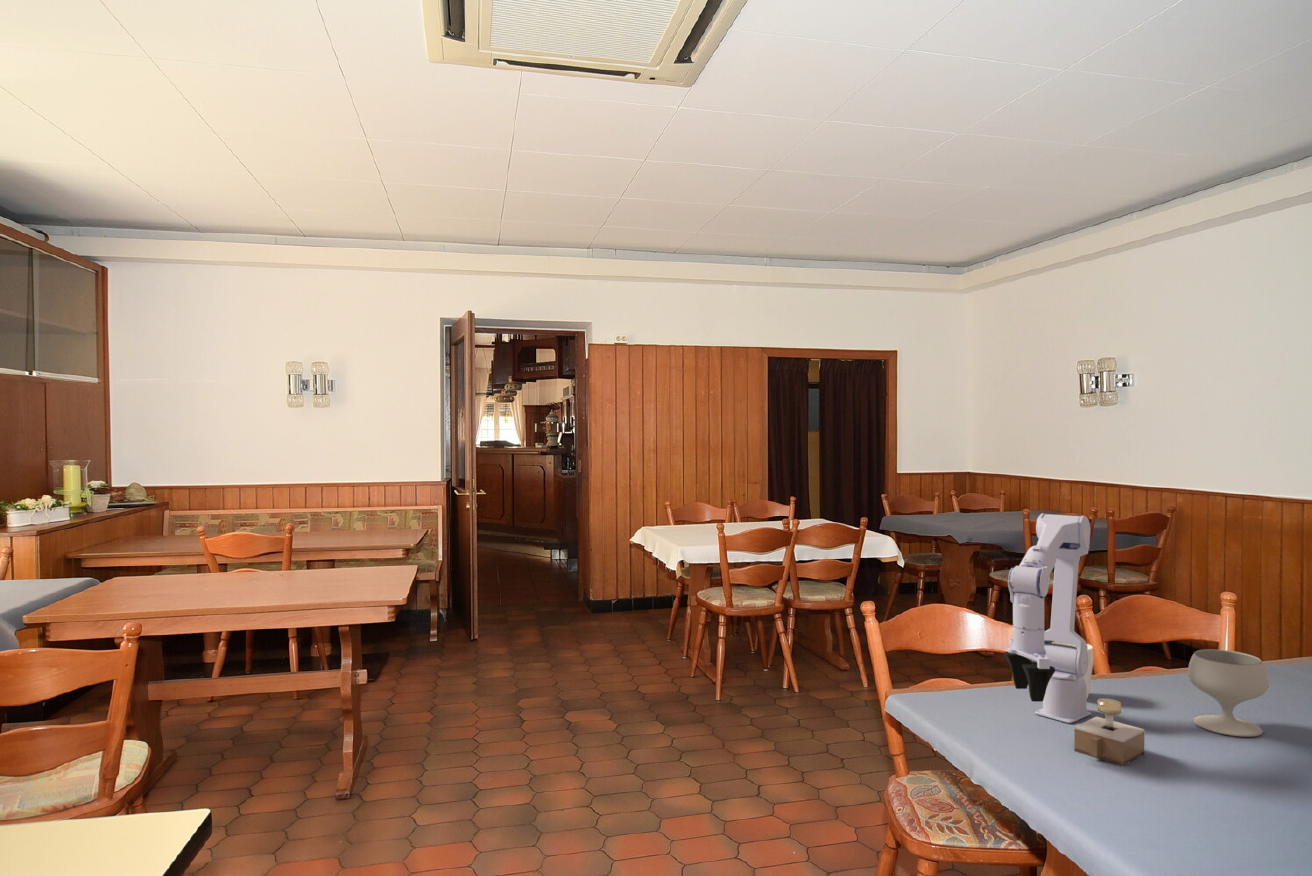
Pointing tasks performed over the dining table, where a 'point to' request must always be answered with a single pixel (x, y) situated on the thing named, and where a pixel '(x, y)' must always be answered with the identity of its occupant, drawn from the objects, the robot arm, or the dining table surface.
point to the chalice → (1228, 687)
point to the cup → (1090, 663)
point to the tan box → (1109, 741)
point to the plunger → (1109, 710)
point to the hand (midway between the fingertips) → (1028, 694)
